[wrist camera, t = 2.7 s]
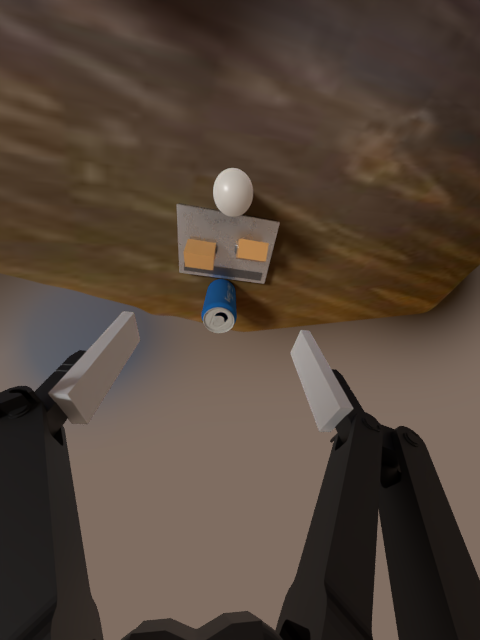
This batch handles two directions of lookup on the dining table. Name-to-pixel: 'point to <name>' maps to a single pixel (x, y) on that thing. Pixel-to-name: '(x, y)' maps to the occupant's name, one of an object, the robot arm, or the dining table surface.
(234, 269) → the breaker plate
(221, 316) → the beverage can
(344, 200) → the dining table surface
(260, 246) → the paddle
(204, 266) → the paddle
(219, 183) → the white rounded smooth part
